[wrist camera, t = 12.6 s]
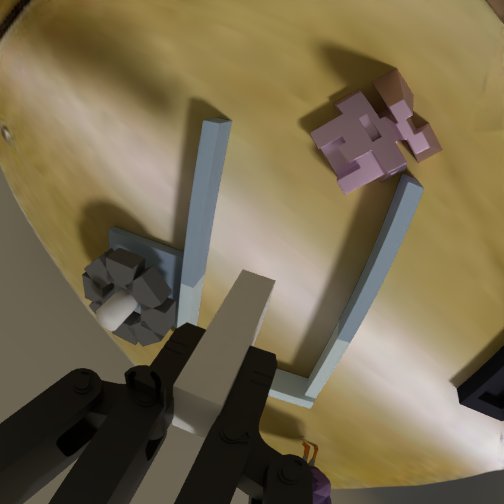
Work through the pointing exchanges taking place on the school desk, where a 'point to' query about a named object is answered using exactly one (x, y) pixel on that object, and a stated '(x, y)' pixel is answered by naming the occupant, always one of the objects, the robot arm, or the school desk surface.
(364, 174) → the letters
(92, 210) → the school desk surface
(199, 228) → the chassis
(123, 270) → the wheel
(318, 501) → the toy
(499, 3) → the alarm clock
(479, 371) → the black laptop
